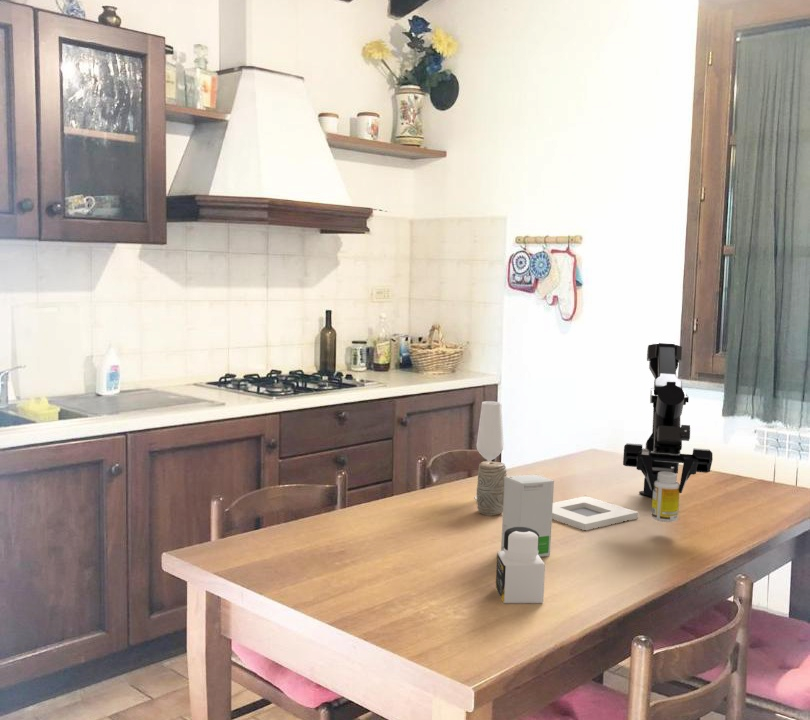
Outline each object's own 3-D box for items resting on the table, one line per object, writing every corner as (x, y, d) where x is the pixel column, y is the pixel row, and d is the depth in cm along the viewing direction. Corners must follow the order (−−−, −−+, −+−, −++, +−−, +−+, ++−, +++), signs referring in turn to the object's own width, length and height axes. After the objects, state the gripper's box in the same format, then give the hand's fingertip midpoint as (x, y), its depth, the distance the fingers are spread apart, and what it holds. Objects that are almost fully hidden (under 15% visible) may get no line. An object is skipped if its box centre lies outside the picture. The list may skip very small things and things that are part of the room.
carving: (469, 513, 205) (471, 462, 203) (489, 507, 210) (491, 458, 209) (491, 519, 200) (493, 467, 199) (511, 513, 206) (513, 462, 204)
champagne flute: (505, 497, 219) (510, 402, 216) (493, 503, 213) (497, 406, 210) (481, 493, 222) (485, 399, 220) (469, 498, 217) (473, 402, 214)
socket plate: (585, 502, 217) (586, 496, 217) (637, 518, 204) (638, 512, 204) (533, 512, 206) (533, 506, 206) (584, 530, 194) (585, 524, 193)
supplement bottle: (682, 520, 192) (686, 474, 191) (667, 524, 188) (671, 478, 187) (660, 513, 196) (663, 469, 195) (645, 517, 193) (648, 472, 191)
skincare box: (517, 561, 173) (520, 483, 171) (498, 551, 178) (501, 476, 177) (552, 555, 176) (555, 480, 175) (532, 545, 182) (536, 472, 181)
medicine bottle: (495, 588, 158) (497, 523, 157) (534, 588, 158) (537, 523, 157) (502, 604, 151) (505, 536, 149) (543, 603, 151) (547, 536, 150)
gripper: (626, 407, 195) (623, 467, 186) (714, 413, 191) (716, 475, 182) (624, 435, 204) (621, 494, 195) (708, 441, 200) (710, 502, 190)
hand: (666, 491), depth 190 cm, fingers closed on supplement bottle, 5 cm apart
